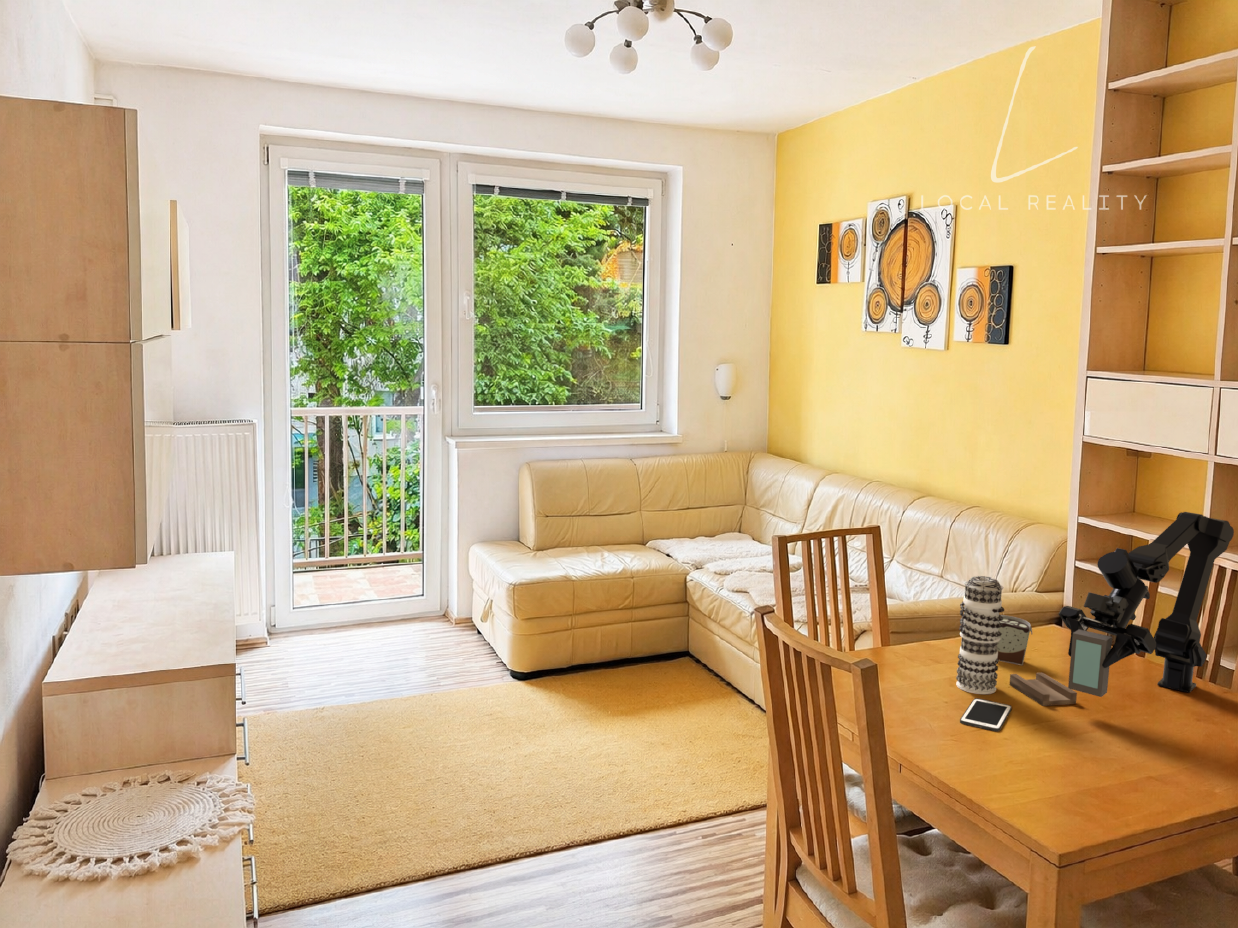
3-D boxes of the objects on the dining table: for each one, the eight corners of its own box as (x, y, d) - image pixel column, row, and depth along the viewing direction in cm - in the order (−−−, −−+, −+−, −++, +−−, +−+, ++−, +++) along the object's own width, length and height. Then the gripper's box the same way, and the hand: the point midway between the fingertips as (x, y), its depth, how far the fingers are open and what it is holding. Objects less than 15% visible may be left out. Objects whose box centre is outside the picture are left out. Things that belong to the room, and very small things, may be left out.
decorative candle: (987, 679, 214) (995, 573, 211) (1005, 695, 205) (1014, 584, 201) (948, 679, 214) (955, 573, 210) (964, 694, 205) (972, 584, 201)
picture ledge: (1041, 682, 212) (1042, 672, 212) (1076, 703, 201) (1077, 692, 200) (1009, 684, 211) (1010, 674, 211) (1042, 705, 199) (1043, 694, 199)
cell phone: (958, 724, 190) (958, 720, 190) (974, 701, 202) (974, 697, 202) (998, 733, 186) (999, 729, 186) (1012, 709, 198) (1012, 705, 198)
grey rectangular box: (1074, 683, 198) (1078, 629, 196) (1107, 692, 193) (1112, 636, 191) (1067, 688, 195) (1072, 633, 193) (1101, 697, 191) (1106, 640, 189)
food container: (1033, 659, 228) (1037, 619, 227) (1029, 666, 223) (1032, 626, 221) (980, 649, 235) (983, 610, 233) (975, 656, 229) (978, 617, 228)
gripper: (1067, 568, 201) (1030, 625, 197) (1153, 590, 185) (1115, 652, 181) (1086, 599, 206) (1051, 655, 202) (1172, 622, 190) (1135, 684, 186)
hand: (1086, 660), depth 193 cm, fingers closed on grey rectangular box, 7 cm apart
